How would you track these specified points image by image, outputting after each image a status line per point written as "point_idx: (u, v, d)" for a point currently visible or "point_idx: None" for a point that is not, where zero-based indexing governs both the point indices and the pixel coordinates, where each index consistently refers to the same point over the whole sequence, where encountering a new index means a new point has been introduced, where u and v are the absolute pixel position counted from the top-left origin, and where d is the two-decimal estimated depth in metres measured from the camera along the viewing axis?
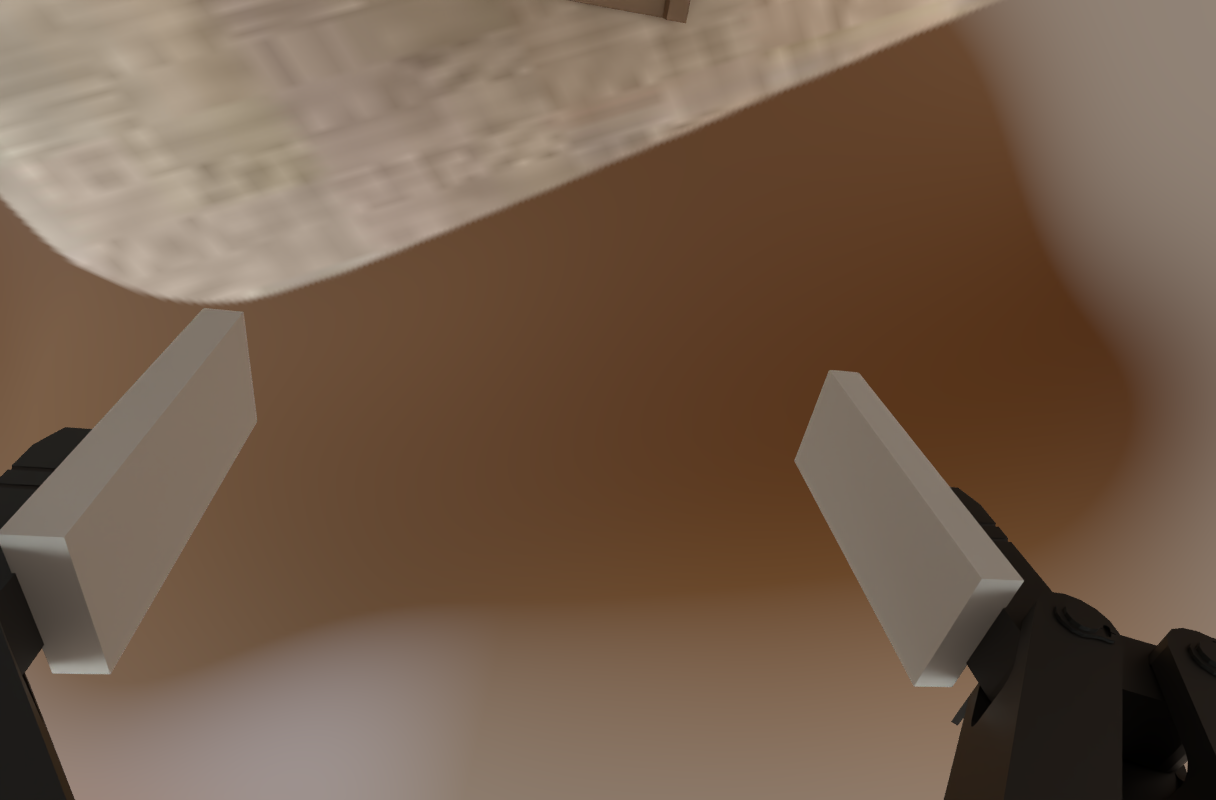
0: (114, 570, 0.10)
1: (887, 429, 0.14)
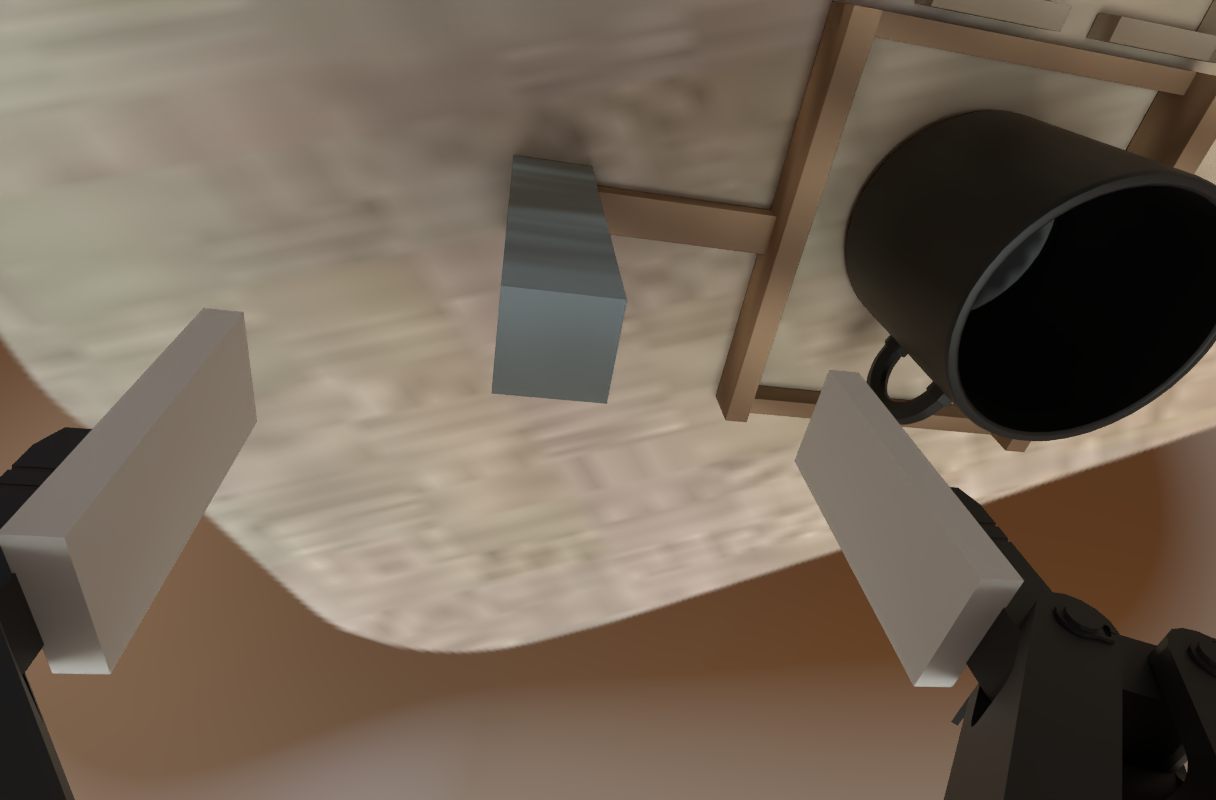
0: (114, 570, 0.10)
1: (887, 429, 0.14)
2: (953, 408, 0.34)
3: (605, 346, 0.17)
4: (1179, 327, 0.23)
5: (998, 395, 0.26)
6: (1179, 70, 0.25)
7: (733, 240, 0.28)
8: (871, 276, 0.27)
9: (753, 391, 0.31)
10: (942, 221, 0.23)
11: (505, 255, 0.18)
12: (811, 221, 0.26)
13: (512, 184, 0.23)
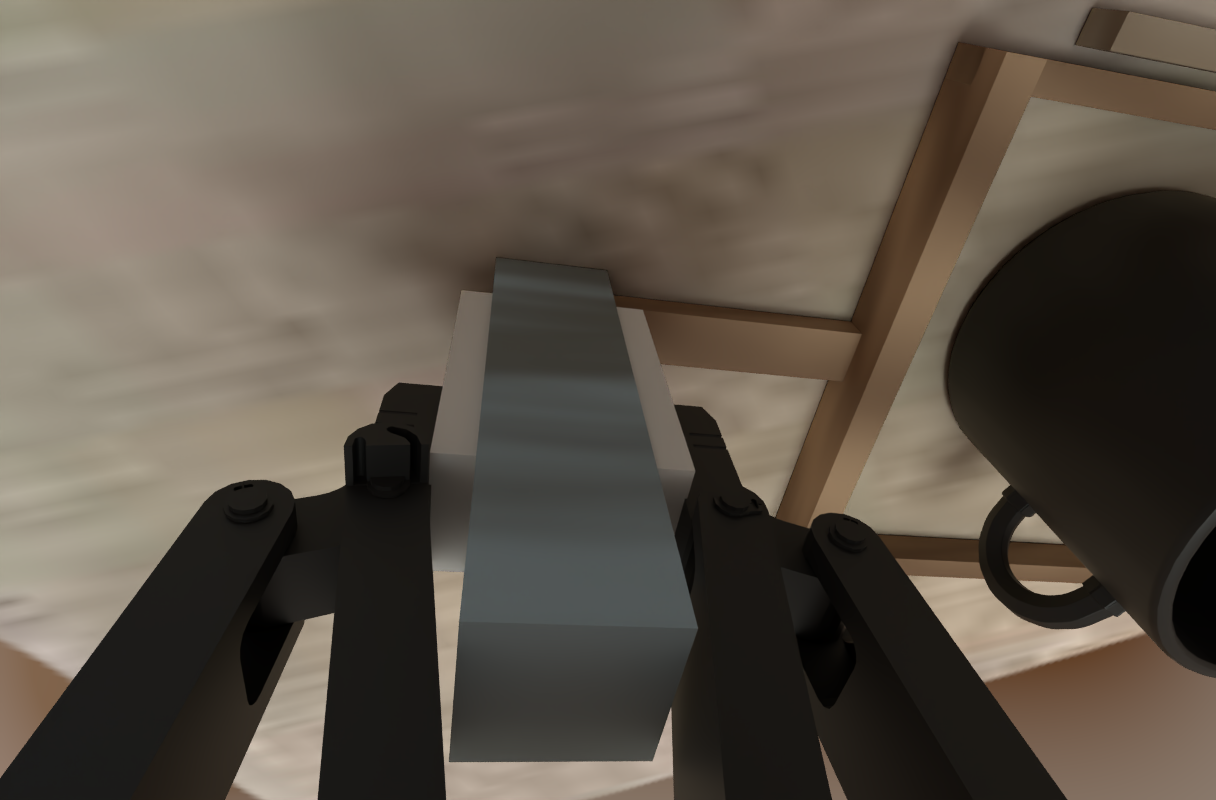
0: None
1: (640, 353, 0.15)
2: (1068, 551, 0.27)
3: (654, 692, 0.09)
4: None
5: (1184, 593, 0.18)
6: None
7: (801, 365, 0.20)
8: (998, 420, 0.19)
9: None
10: (1139, 373, 0.15)
11: (472, 515, 0.10)
12: (916, 346, 0.19)
13: (492, 321, 0.15)
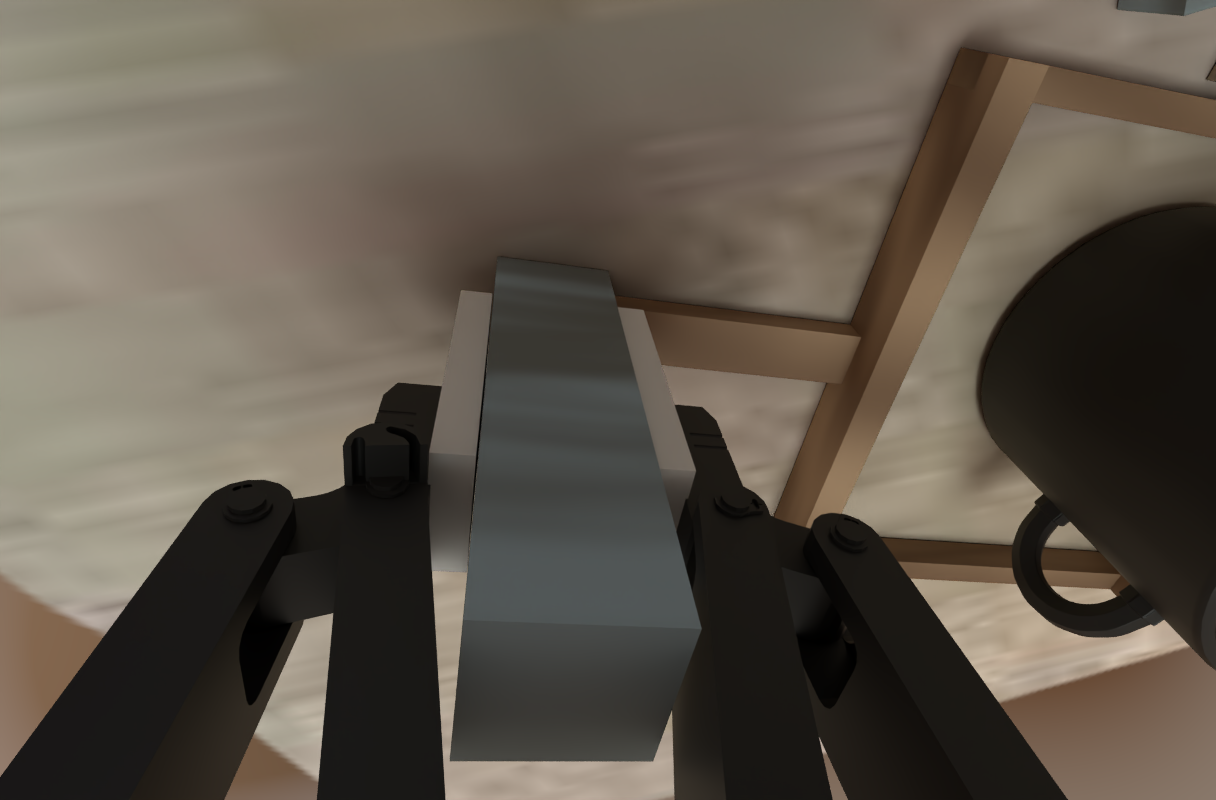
0: None
1: (640, 354, 0.15)
2: (1062, 555, 0.27)
3: (656, 692, 0.09)
4: None
5: None
6: None
7: (800, 367, 0.20)
8: (1035, 432, 0.20)
9: None
10: (1183, 389, 0.15)
11: (476, 514, 0.10)
12: (915, 350, 0.19)
13: (494, 320, 0.15)
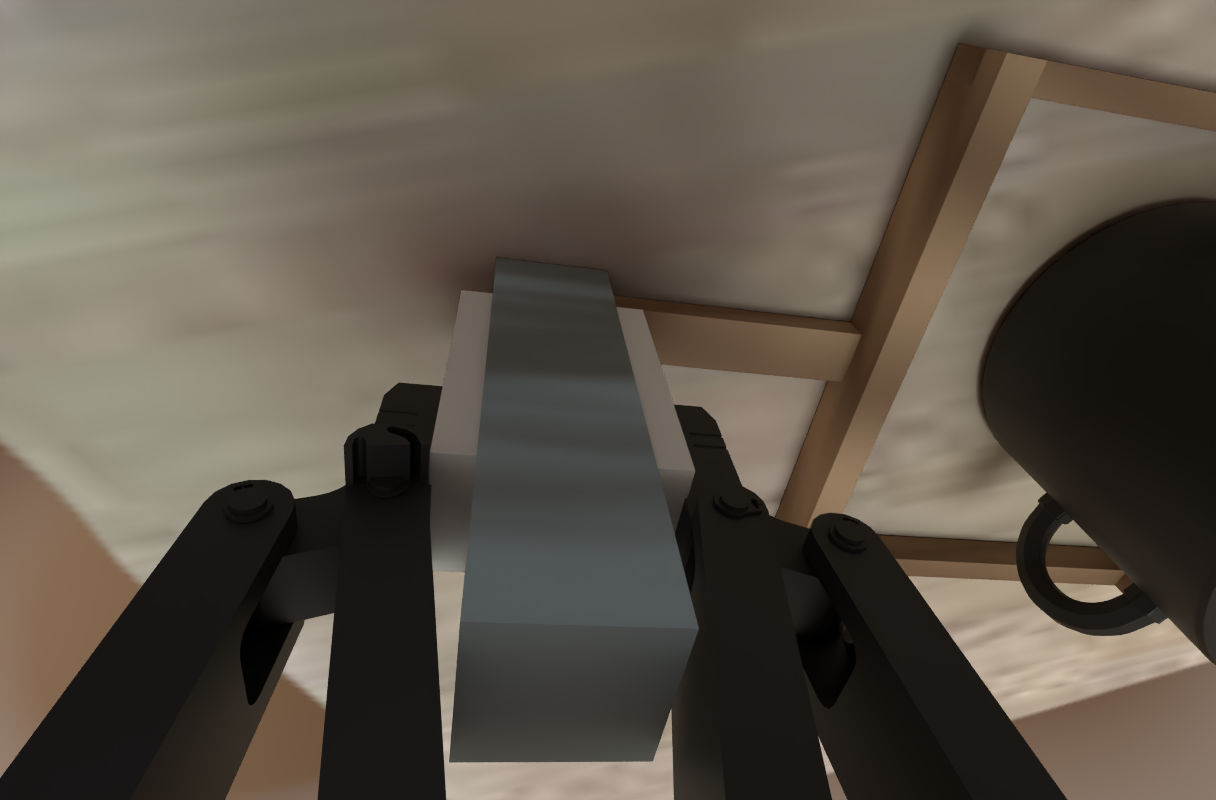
0: None
1: (640, 353, 0.15)
2: (1067, 552, 0.27)
3: (654, 692, 0.09)
4: None
5: None
6: None
7: (801, 365, 0.20)
8: (1035, 431, 0.20)
9: None
10: (1180, 388, 0.15)
11: (473, 515, 0.10)
12: (915, 347, 0.19)
13: (492, 321, 0.15)
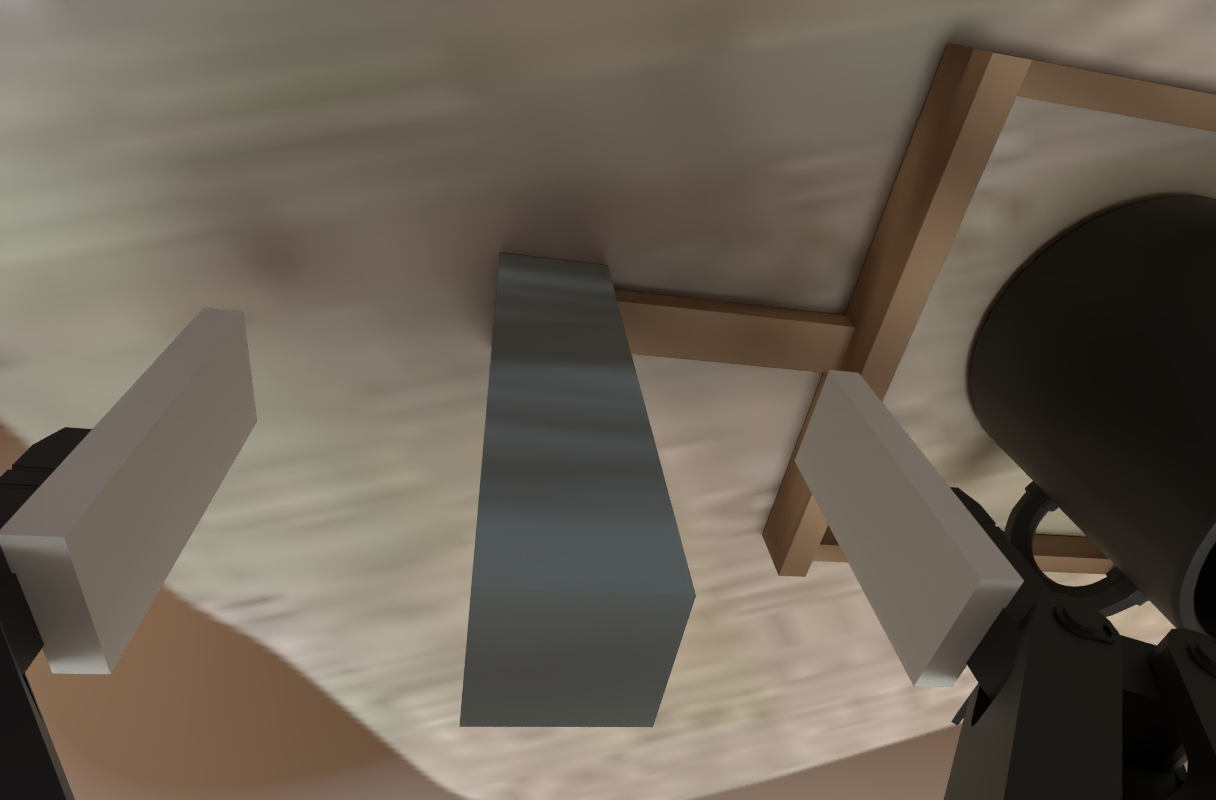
0: (114, 570, 0.10)
1: (887, 429, 0.14)
2: (1059, 542, 0.27)
3: (654, 657, 0.10)
4: None
5: (1205, 582, 0.19)
6: None
7: (796, 357, 0.21)
8: (1020, 420, 0.20)
9: (816, 542, 0.23)
10: (1157, 375, 0.16)
11: (482, 492, 0.10)
12: (907, 339, 0.19)
13: (497, 312, 0.16)
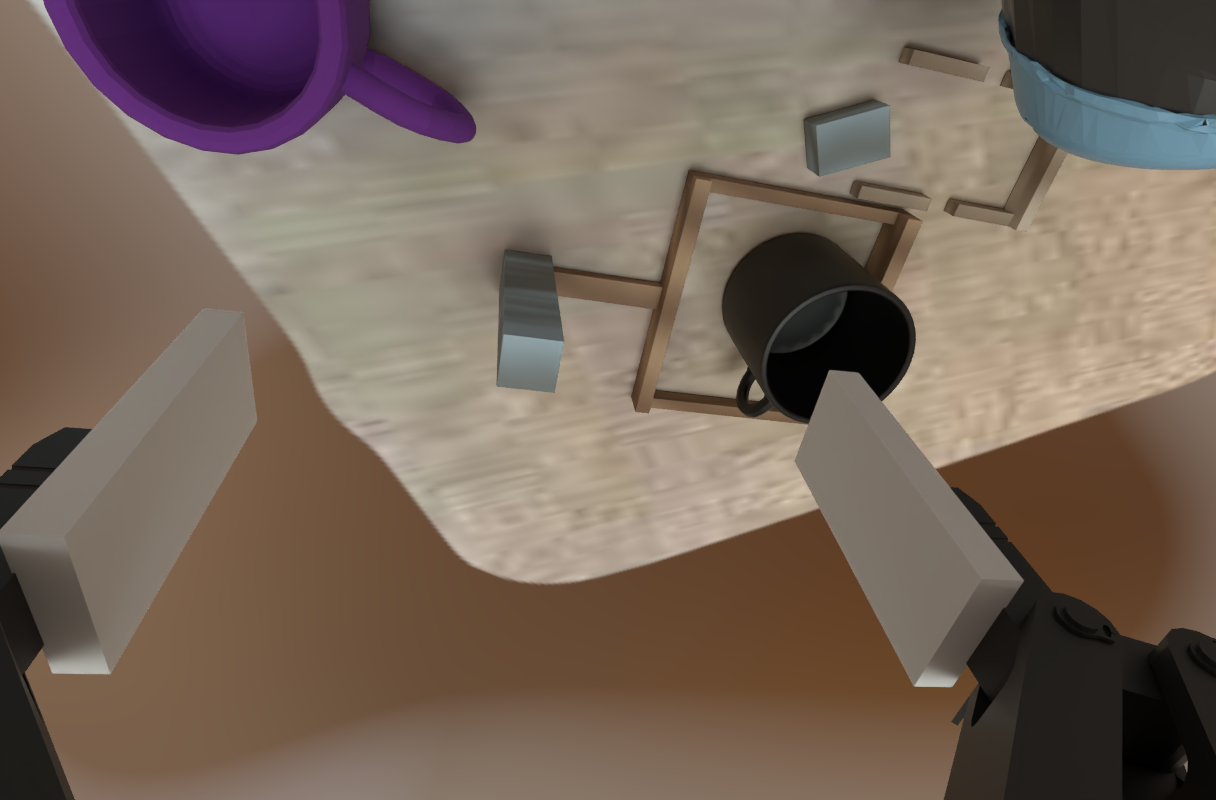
0: (114, 570, 0.10)
1: (887, 429, 0.14)
2: None
3: (553, 363, 0.35)
4: (894, 360, 0.42)
5: (805, 399, 0.45)
6: (888, 211, 0.44)
7: (637, 300, 0.46)
8: (733, 330, 0.46)
9: (652, 393, 0.49)
10: (760, 303, 0.42)
11: (504, 317, 0.35)
12: (681, 291, 0.45)
13: (505, 272, 0.41)
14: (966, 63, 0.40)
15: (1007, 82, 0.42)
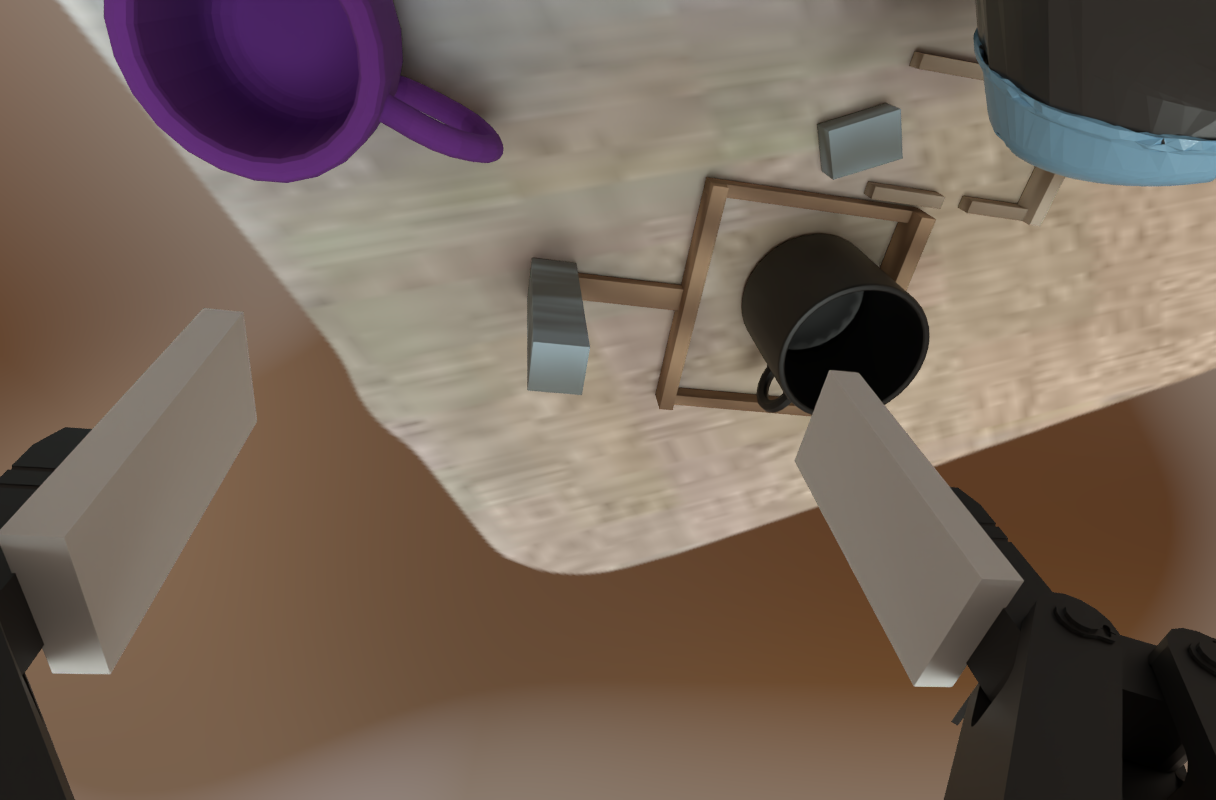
0: (114, 570, 0.10)
1: (887, 429, 0.14)
2: None
3: (580, 368, 0.37)
4: (909, 355, 0.44)
5: None
6: (902, 210, 0.46)
7: (659, 303, 0.48)
8: (752, 329, 0.47)
9: (675, 391, 0.51)
10: (777, 303, 0.43)
11: (533, 325, 0.38)
12: (701, 293, 0.47)
13: (533, 280, 0.43)
14: (976, 65, 0.41)
15: None
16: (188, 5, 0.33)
